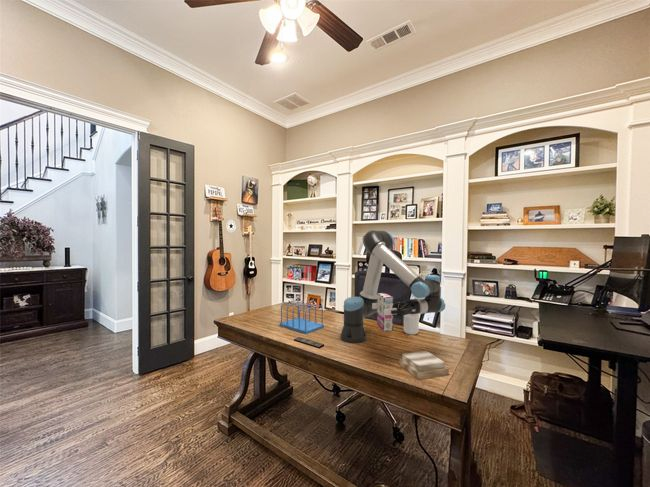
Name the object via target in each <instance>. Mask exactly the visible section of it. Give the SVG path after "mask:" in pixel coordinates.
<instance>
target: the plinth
mask: <svg viewBox="0 0 650 487" xmlns="http://www.w3.org/2000/svg"><path fill="white" fill-rule="evenodd" d="M398 364H399V365H400V366H401V367H402V368H404V370H406V371H407V372H408V373H409V374H410V375H412V376H413V377H415V378H416V379H417V380H425V379H429V378H430V379H431V378H437V377H442V376H449V375H450V373H449V372H450V369H449V368H448V367H447V366H446V362H445V361H444V360H442V359H440V358H438V357H437V356H435V355H434V354H432V353H430V352H429V351H427V350H421V351H414V352H406V353H405V352H403V353H402V354H401V358H398ZM424 378H425V379H424Z"/></svg>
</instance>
